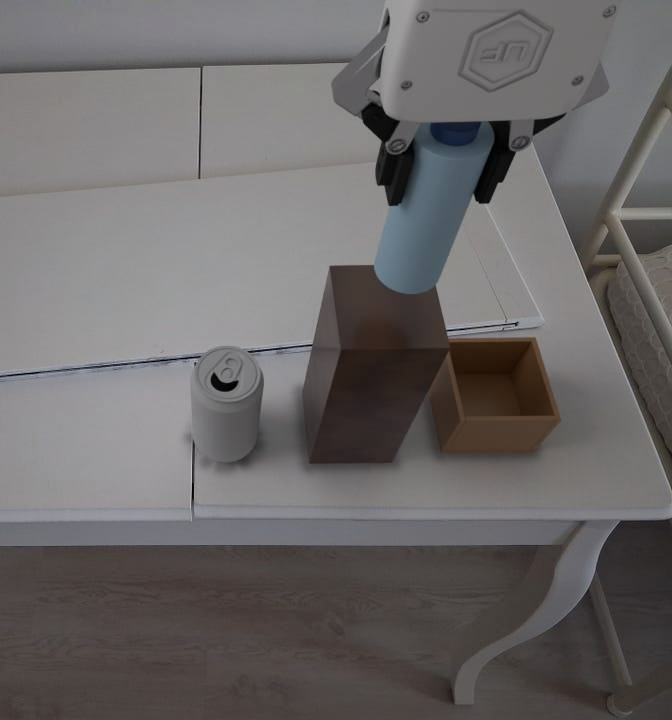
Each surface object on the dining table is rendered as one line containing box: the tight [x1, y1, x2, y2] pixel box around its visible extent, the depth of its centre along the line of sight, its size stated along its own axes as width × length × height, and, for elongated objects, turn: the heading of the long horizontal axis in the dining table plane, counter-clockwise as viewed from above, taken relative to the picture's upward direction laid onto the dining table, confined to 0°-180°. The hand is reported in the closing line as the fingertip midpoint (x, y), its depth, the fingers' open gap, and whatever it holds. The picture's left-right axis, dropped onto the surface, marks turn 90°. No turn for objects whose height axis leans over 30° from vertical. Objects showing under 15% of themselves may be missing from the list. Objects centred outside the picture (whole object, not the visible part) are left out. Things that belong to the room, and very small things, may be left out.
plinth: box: [301, 264, 450, 465], centre depth 63 cm, size 8×8×20 cm
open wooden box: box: [428, 336, 562, 453], centre depth 70 cm, size 9×9×6 cm
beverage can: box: [189, 345, 265, 463], centre depth 66 cm, size 6×6×12 cm
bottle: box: [373, 121, 494, 294], centre depth 46 cm, size 5×5×13 cm
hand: (434, 186), depth 44 cm, fingers closed on bottle, 4 cm apart
